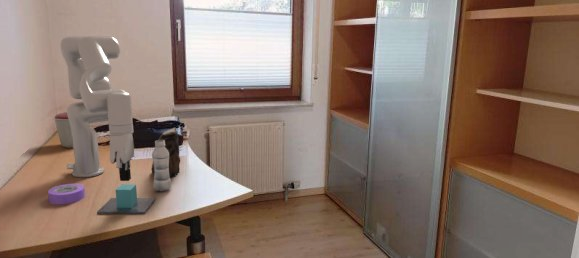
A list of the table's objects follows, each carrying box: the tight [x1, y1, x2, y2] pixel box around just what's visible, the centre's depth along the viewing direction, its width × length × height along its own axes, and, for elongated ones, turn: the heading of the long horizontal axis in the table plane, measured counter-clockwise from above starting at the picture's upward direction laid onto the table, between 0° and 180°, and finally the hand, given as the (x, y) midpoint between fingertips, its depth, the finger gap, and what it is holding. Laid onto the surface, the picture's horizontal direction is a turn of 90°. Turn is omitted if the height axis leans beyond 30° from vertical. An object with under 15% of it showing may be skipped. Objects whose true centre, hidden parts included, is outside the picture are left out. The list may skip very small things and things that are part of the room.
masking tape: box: [47, 183, 86, 205], centre depth 148 cm, size 12×12×4 cm
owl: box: [151, 127, 181, 179], centre depth 174 cm, size 13×13×20 cm
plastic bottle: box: [151, 139, 172, 192], centre depth 155 cm, size 6×7×20 cm
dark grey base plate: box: [96, 197, 156, 215], centre depth 141 cm, size 16×12×6 cm
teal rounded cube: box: [115, 183, 138, 208], centre depth 141 cm, size 5×5×7 cm
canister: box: [52, 111, 91, 149], centre depth 217 cm, size 18×18×21 cm
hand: (125, 180), depth 139 cm, fingers closed
